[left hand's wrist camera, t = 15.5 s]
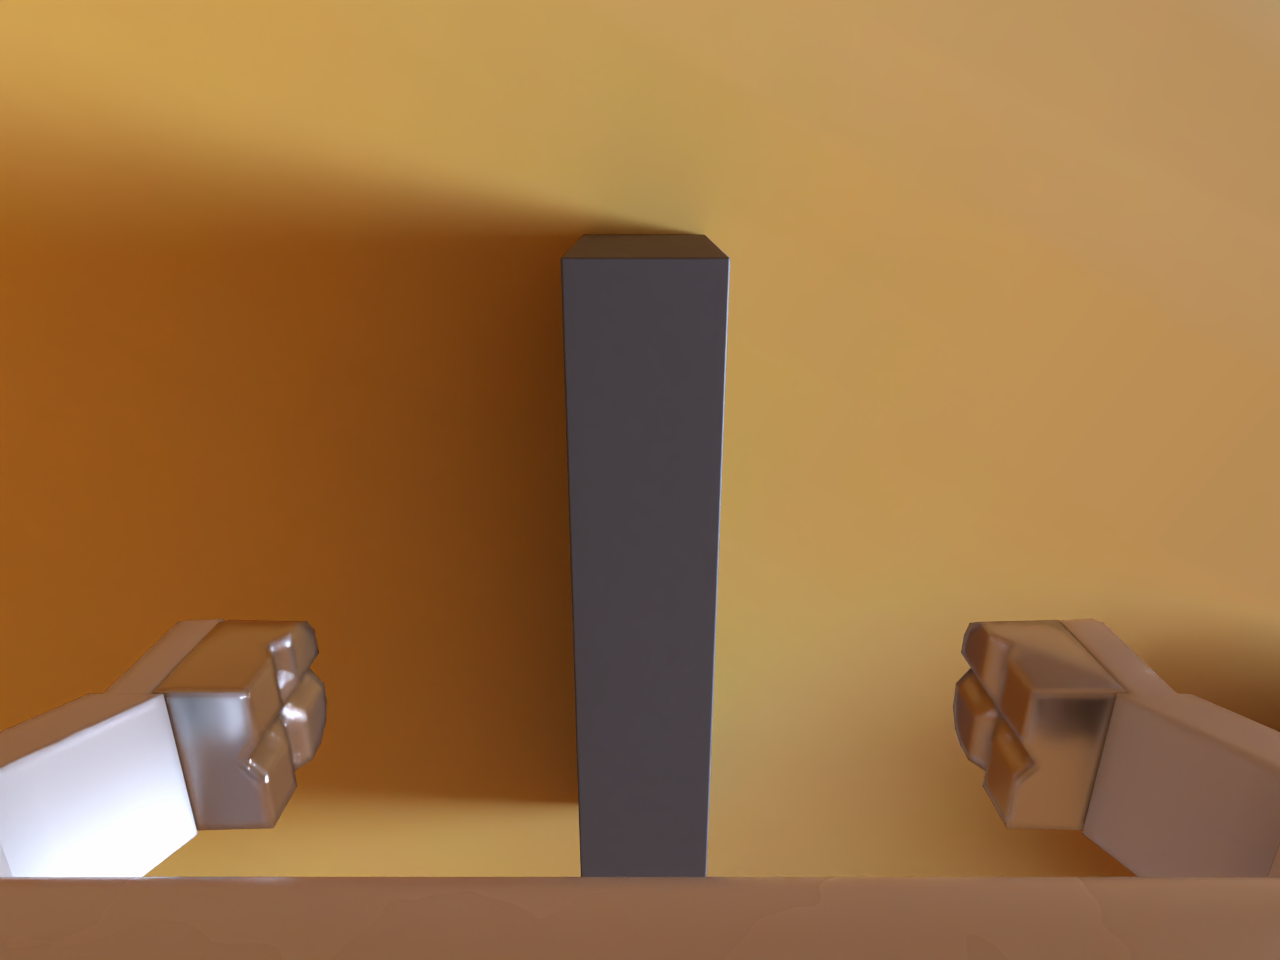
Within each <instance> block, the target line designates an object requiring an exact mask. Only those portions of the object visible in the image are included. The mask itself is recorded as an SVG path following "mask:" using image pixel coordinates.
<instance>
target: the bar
mask: <svg viewBox="0 0 1280 960" xmlns="http://www.w3.org/2000/svg"><path fill="white" fill-rule="evenodd" d="M729 275H730V258H729V257H728V256H727V255H726V254H725V253H724V252H722V251H721V250H720V249H719V248H718V247H717V246H716V245H715V244H714V243H713V242H712V241H711V240H710V239H709V238H708V237H707V236H706V235H583V236H582V237H581V238H580V239H579V240H578V241H577V242H576V243H575V244H574V245H573V246H572V247H571V248H570V249H569V250H568V252H567V253H566V254H565V255H564V256H563V257H562V258H561V283H562V313H563V344H564V374H565V404H566V435H567V465H568V496H569V526H570V557H571V587H572V617H573V648H574V678H575V709H576V739H577V770H578V800H579V830H580V861H581V877H706V870H707V845H708V819H709V793H710V767H711V741H712V715H713V689H714V663H715V638H716V612H717V586H718V560H719V534H720V508H721V482H722V456H723V430H724V405H725V379H726V353H727V327H728V301H729Z"/></svg>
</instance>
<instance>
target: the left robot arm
mask: <svg viewBox="0 0 1280 960" xmlns="http://www.w3.org/2000/svg"><path fill="white" fill-rule="evenodd" d="M318 653H319V650H318V645H317V640H316V635H315V631H314V628H313V627H312V626H311V625H310V624H309V623H308V622H307V621H267V620H224V619H202V620H185V621H178V622H177V623H176V624H175V625H174V626H173V627H172V628H171V629H170V630H169V631H168V632H167V633H166V634H165V635H164V636H163V637H162V638H161V639H159V640H158V641H157V642H156V643H155V644H154V645H153V646H152V647H151V648H150V649H149V650H148V651H147V652H146V653H145V654H144V655H143V656H142V657H141V658H140V659H139V660H138V661H137V662H135V663H134V664H133V665H132V666H131V667H130V668H129V669H128V670H127V671H126V672H125V673H124V674H123V675H122V676H121V677H120V678H119V679H118V680H117V681H116V682H115V683H114V684H112V685H111V686H110V687H109V688H108V689H107V690H106V691H105V692H104V693H103V694H88V695H85V696H83V697H81V698H78V699H76V700H74V701H71V702H69V703H67V704H64V705H62V706H60V707H57V708H55V709H52V710H50V711H48V712H45V713H43V714H41V715H38V716H36V717H34V718H31V719H29V720H27V721H24V722H22V723H20V724H17V725H15V726H13V727H10V728H8V729H6V730H3V731H1V732H0V960H1280V732H1279V731H1276V730H1274V729H1272V728H1269V727H1267V726H1265V725H1262V724H1260V723H1258V722H1255V721H1253V720H1251V719H1248V718H1246V717H1244V716H1241V715H1239V714H1237V713H1234V712H1232V711H1230V710H1227V709H1225V708H1223V707H1220V706H1218V705H1216V704H1213V703H1211V702H1209V701H1206V700H1204V699H1202V698H1199V697H1197V696H1195V695H1192V694H1177V693H1176V692H1175V691H1174V690H1173V689H1172V688H1171V687H1170V686H1169V685H1168V684H1167V683H1166V682H1165V681H1163V680H1162V679H1161V678H1160V677H1159V676H1158V675H1157V674H1156V673H1155V672H1154V671H1153V670H1152V669H1151V668H1150V667H1149V666H1148V665H1147V664H1146V663H1145V662H1144V661H1143V660H1142V659H1141V658H1139V657H1138V656H1137V655H1136V654H1135V653H1134V652H1133V651H1132V650H1131V649H1130V648H1129V647H1128V646H1127V645H1126V644H1125V643H1124V642H1123V641H1122V640H1121V639H1120V638H1119V637H1118V636H1117V635H1116V634H1114V633H1113V632H1112V631H1111V630H1110V629H1109V628H1108V627H1107V626H1106V625H1105V624H1104V623H1103V622H1100V621H1097V620H1094V619H1075V620H1038V621H997V622H974V623H969V626H968V628H967V630H966V632H965V634H964V639H963V644H962V650H961V653H962V655H963V656H964V658H965V659H966V661H967V662H968V664H969V666H970V667H971V668H970V669H969V671H968V672H967V673H966V674H965V675H964V676H963V677H962V678H961V679H960V680H959V681H958V682H957V683H956V687H955V695H954V703H953V711H954V722H955V730H956V733H957V736H958V740H959V743H960V746H961V747H962V749H963V751H964V753H965V755H966V757H967V759H968V760H969V761H971V762H972V763H974V764H975V765H977V766H978V767H980V768H982V769H983V770H985V777H984V782H983V787H984V789H985V791H986V793H987V794H988V796H989V798H990V800H991V801H992V803H993V805H994V807H995V808H996V810H997V812H998V814H999V815H1000V817H1001V819H1002V821H1003V822H1004V824H1005V826H1006V828H1017V829H1054V830H1083V832H1082V834H1083V835H1085V836H1086V837H1087V838H1089V839H1090V840H1091V841H1092V842H1094V843H1095V844H1096V845H1098V846H1099V847H1100V848H1102V849H1103V850H1104V851H1105V852H1107V853H1108V854H1109V855H1111V856H1112V857H1113V858H1115V859H1116V860H1117V861H1118V862H1120V863H1121V864H1122V865H1124V866H1125V867H1126V868H1128V869H1129V870H1130V871H1131V872H1133V873H1134V874H1135V875H1137V876H1138V877H142V876H144V875H145V874H146V873H148V872H149V871H150V870H151V869H153V868H154V867H155V866H157V865H158V864H159V863H161V862H162V861H163V860H164V859H166V858H167V857H168V856H170V855H171V854H172V853H174V852H175V851H176V850H177V849H179V848H180V847H181V846H183V845H184V844H185V843H187V842H188V841H189V840H190V839H192V838H193V837H194V836H196V835H197V830H225V829H261V828H274V826H275V824H276V823H277V821H278V819H279V817H280V816H281V814H282V812H283V810H284V809H285V807H286V805H287V803H288V802H289V800H290V798H291V796H292V794H293V793H294V791H295V789H296V787H297V782H296V777H295V770H297V769H298V768H300V767H302V766H303V765H305V764H306V763H308V762H309V761H311V760H312V759H313V757H314V755H315V753H316V751H317V749H318V747H319V745H320V744H321V740H322V736H323V732H324V727H325V723H326V705H327V700H326V694H325V687H324V683H323V682H322V681H321V680H320V679H319V678H318V677H317V676H316V675H315V674H314V673H313V672H312V671H311V669H310V668H309V667H310V666H311V664H312V663H313V661H314V659H315V658H316V656H317V655H318Z"/></svg>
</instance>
